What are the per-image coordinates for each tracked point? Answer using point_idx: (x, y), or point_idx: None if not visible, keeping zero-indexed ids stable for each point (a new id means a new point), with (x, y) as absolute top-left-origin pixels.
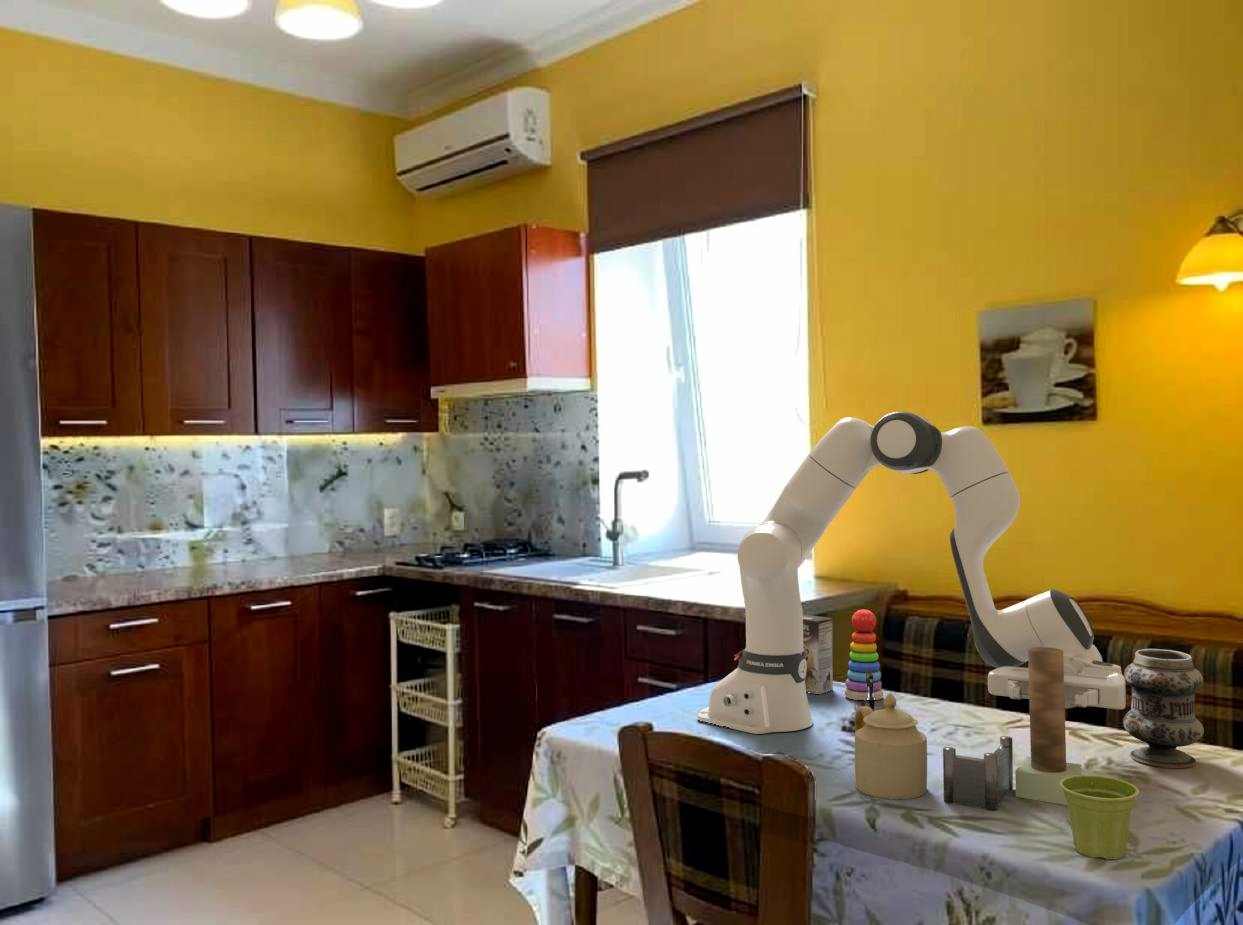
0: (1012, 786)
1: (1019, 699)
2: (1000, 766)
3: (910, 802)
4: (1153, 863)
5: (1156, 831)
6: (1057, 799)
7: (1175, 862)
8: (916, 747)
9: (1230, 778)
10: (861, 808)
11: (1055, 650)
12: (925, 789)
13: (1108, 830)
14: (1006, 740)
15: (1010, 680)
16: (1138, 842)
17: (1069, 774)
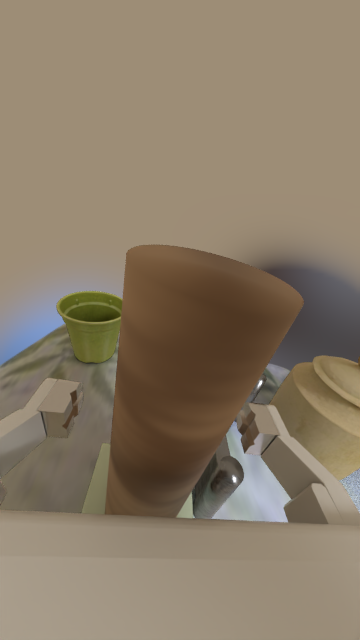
0: (194, 504)
1: (238, 426)
2: None
3: (260, 400)
4: (56, 342)
5: (9, 409)
6: None
7: (34, 347)
8: (290, 377)
9: None
10: (275, 375)
11: (169, 265)
12: None
13: (92, 318)
14: (225, 458)
15: (353, 514)
16: (50, 374)
17: (103, 472)
